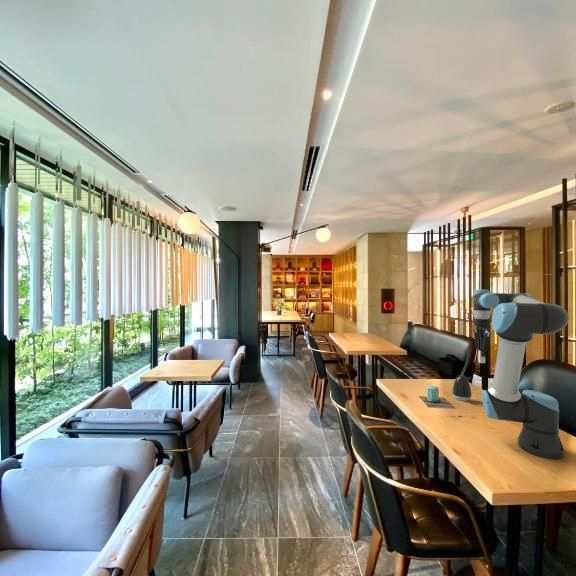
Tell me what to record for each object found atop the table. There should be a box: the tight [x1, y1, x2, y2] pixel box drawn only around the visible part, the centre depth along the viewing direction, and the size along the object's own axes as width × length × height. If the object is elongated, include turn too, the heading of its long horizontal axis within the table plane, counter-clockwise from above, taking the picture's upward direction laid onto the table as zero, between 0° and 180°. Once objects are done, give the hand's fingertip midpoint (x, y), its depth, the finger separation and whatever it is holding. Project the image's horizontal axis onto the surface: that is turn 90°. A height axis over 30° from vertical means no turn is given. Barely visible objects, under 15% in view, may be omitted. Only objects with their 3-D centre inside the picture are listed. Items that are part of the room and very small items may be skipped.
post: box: [425, 396, 440, 403], centre depth 181 cm, size 8×8×6 cm
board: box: [418, 395, 457, 410], centre depth 179 cm, size 18×15×1 cm
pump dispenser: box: [451, 374, 472, 402], centre depth 185 cm, size 10×10×15 cm
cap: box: [426, 385, 440, 401], centre depth 181 cm, size 6×6×7 cm
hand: (481, 362), depth 163 cm, fingers closed
